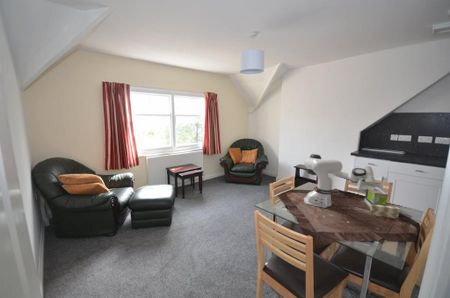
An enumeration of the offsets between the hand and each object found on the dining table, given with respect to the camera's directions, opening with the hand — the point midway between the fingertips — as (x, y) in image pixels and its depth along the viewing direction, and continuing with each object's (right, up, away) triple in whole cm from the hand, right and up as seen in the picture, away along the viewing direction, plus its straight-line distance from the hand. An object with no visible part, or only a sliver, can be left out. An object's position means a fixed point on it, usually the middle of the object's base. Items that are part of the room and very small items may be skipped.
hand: (371, 196), depth 182 cm
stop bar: (-7, -10, -22) cm, 25 cm away
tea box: (-3, -7, -6) cm, 10 cm away
